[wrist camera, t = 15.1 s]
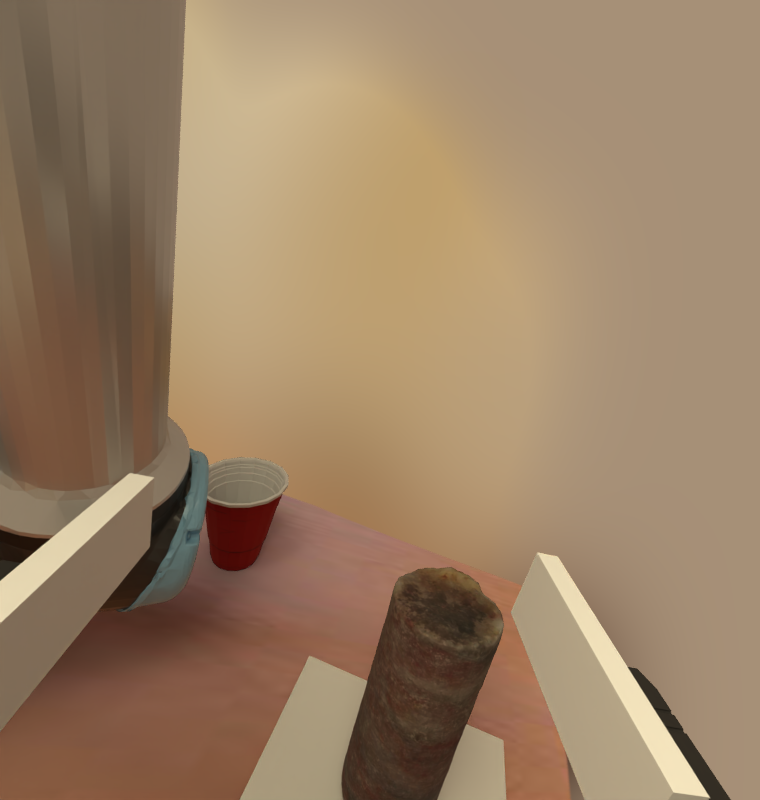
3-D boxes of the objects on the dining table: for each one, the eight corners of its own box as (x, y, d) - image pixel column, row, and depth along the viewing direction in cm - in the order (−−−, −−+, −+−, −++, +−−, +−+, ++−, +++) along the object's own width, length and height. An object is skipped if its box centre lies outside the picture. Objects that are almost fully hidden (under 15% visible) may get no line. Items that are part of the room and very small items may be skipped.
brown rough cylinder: (335, 860, 27) (407, 643, 21) (334, 738, 34) (388, 549, 28) (439, 856, 28) (535, 652, 22) (418, 740, 35) (487, 560, 29)
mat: (206, 871, 26) (207, 866, 25) (308, 659, 41) (309, 655, 40) (514, 1047, 22) (517, 1042, 22) (501, 744, 37) (503, 740, 37)
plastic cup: (187, 531, 54) (195, 454, 50) (268, 526, 59) (280, 454, 55) (186, 593, 45) (195, 504, 41) (281, 581, 50) (297, 499, 46)
